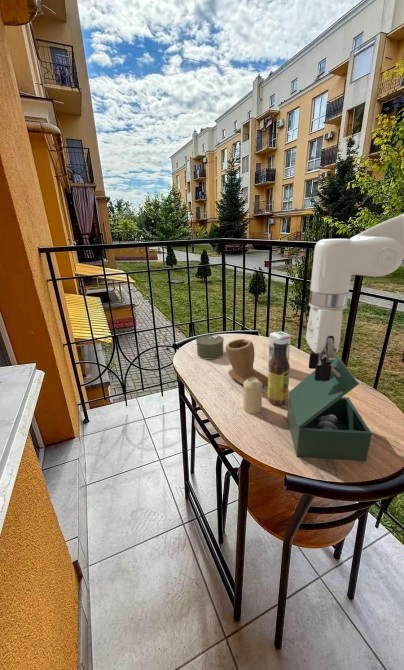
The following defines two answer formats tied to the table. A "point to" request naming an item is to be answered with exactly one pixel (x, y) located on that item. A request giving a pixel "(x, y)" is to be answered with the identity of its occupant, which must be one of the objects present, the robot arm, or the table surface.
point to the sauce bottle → (278, 374)
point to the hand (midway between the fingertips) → (318, 373)
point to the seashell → (326, 422)
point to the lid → (320, 392)
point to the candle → (252, 395)
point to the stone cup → (243, 361)
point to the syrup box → (278, 336)
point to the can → (210, 346)
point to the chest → (332, 434)
